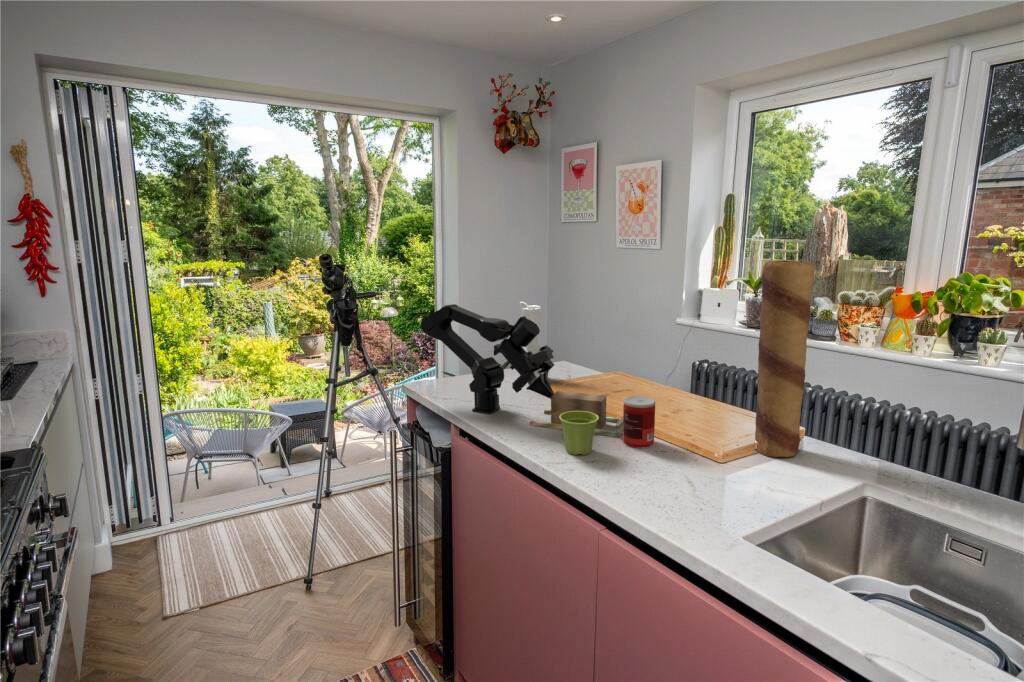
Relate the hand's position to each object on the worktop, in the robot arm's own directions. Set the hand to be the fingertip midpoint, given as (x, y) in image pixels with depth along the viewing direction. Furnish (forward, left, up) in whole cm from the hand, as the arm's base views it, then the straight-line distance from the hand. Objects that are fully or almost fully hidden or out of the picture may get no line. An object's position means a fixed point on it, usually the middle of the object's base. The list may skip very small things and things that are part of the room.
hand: (553, 398), depth 160 cm
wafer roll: (+57, -1, -7) cm, 57 cm away
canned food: (+26, -8, -7) cm, 28 cm away
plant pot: (+13, -19, -7) cm, 24 cm away
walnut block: (+7, 0, -7) cm, 10 cm away
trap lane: (+8, 0, -7) cm, 10 cm away
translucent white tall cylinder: (-24, +42, -7) cm, 49 cm away
